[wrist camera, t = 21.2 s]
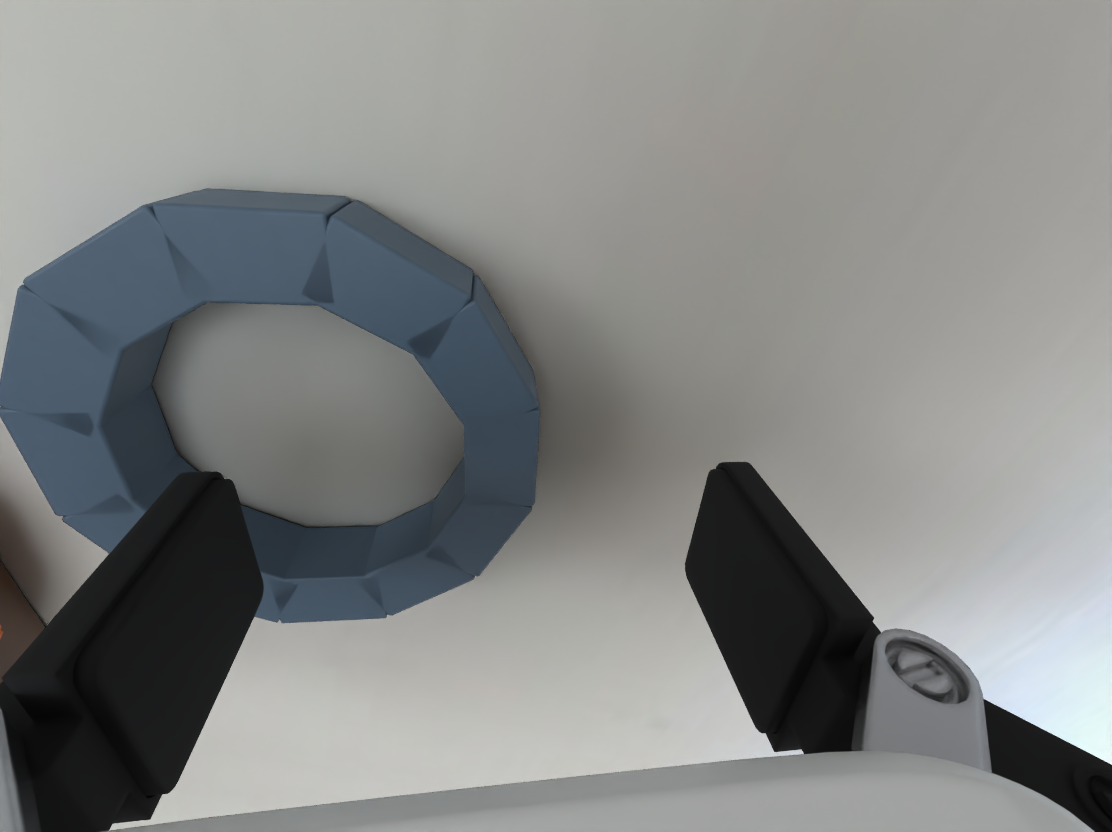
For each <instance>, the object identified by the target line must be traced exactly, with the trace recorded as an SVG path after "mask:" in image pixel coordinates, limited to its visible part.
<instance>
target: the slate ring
mask: <svg viewBox="0 0 1112 832" xmlns="http://www.w3.org/2000/svg"><path fill="white" fill-rule="evenodd" d="M23 283H24V285H21V286H20V287H19V288H18V291H17V296H16V301H15V306H14V312H13V317H12V322H11V327H10V332H9V337H8V342H7V348H6V353H5V358H4V363H3V368H2V373H1V378H0V406H1V407H0V417H1V419H2V420H3V422H4V424H5V426H6V428H7V429H8V431H9V433H10V435H11V436H12V438H13V440H14V442H15V444H16V445H17V447H18V449H19V451H20V452H21V454H22V456H23V458H24V460H25V461H26V463H27V465H28V467H29V468H30V470H31V472H32V474H33V475H34V477H35V479H36V481H37V483H38V484H39V486H40V488H41V490H42V491H43V493H44V495H45V497H46V499H47V500H48V502H49V504H50V506H51V507H52V509H53V511H54V513H55V514H56V515H58V516H63V518H62V520H63V522H65V523H66V524H68V525H69V526H70V527H72V528H73V529H75V530H76V531H78V532H79V533H81V534H82V535H83V536H85V537H86V538H88V539H89V540H91V541H92V542H94V543H95V544H97V545H98V546H99V547H101V548H102V549H104V550H105V551H107V552H108V553H111V551H112V550H113V549H114V548H115V547H116V546H117V545H118V543H119V542H120V541H121V540H122V539H123V538H124V536H125V535H126V534H127V533H128V532H129V531H130V530H131V528H132V527H133V526H134V525H135V524H136V523H137V522H138V520H139V519H140V518H141V517H142V516H143V515H144V513H145V512H146V511H147V510H148V509H149V508H150V507H151V505H152V504H153V503H154V502H155V501H156V500H157V499H158V497H159V496H160V495H161V494H162V493H163V492H164V491H165V489H166V488H167V487H168V486H169V485H170V484H171V482H172V481H173V480H174V479H175V478H176V477H177V476H178V475H179V474H180V473H184V472H198V471H197V470H195V469H194V468H193V467H192V466H191V465H190V464H189V463H187V462H186V461H185V460H184V459H183V458H182V457H180V456H179V455H178V454H177V452H176V450H175V447H174V444H173V442H172V439H171V436H170V434H169V431H168V428H167V426H166V423H165V420H164V418H163V415H162V412H161V410H160V407H159V404H158V402H157V399H156V396H155V394H154V391H153V388H152V386H151V383H152V380H153V377H154V374H155V371H156V368H157V365H158V362H159V359H160V356H161V354H162V351H163V348H164V345H165V342H166V339H167V336H168V333H169V330H170V327H171V324H172V322H174V321H176V320H177V319H179V318H181V317H183V316H184V315H186V314H188V313H190V312H191V311H193V310H195V309H197V308H198V307H200V306H202V305H204V304H205V303H207V302H212V303H246V304H280V305H314V306H320V307H322V308H323V309H325V310H327V311H329V312H331V313H333V314H335V315H337V316H339V317H341V318H343V319H345V320H347V321H349V322H351V323H353V324H355V325H357V326H359V327H360V328H362V329H364V330H366V331H368V332H370V333H372V334H374V335H376V336H378V337H380V338H382V339H384V340H386V341H388V342H390V343H392V344H394V345H396V346H397V347H399V348H401V349H403V350H405V351H407V352H409V353H411V354H413V355H414V357H415V358H416V359H417V361H418V362H419V364H420V365H421V366H422V368H423V369H424V371H425V372H426V373H427V375H428V376H429V378H430V379H431V380H432V382H433V383H434V385H435V386H436V387H437V389H438V390H439V391H440V393H441V394H442V396H443V397H444V398H445V400H446V401H447V403H448V404H449V405H450V407H451V408H452V410H453V411H454V412H455V414H456V415H457V417H458V418H459V419H460V421H461V422H462V424H463V426H464V458H463V459H462V461H461V462H460V463H459V465H458V466H457V468H456V469H455V471H454V472H453V474H452V475H451V477H450V478H449V480H448V481H447V482H446V484H445V485H444V487H443V488H442V490H441V491H440V493H439V494H438V496H437V497H436V498H435V500H434V501H432V502H429V503H427V504H425V505H423V506H421V507H419V508H417V509H415V510H412V511H410V512H408V513H406V514H404V515H402V516H400V517H398V518H395V519H393V520H391V521H389V522H387V523H385V524H383V525H381V526H367V527H328V528H305V527H302V526H299V525H297V524H294V523H291V522H288V521H285V520H282V519H279V518H276V517H274V516H271V515H268V514H265V513H262V512H259V511H256V510H253V509H251V508H248V507H245V506H242V505H241V509H242V512H243V515H244V519H245V522H246V525H247V529H248V532H249V536H250V539H251V542H252V546H253V549H254V552H255V556H256V559H257V562H258V566H259V569H260V573H261V576H262V579H263V584H264V591H263V597H262V600H261V603H260V605H259V607H258V610H257V612H256V614H255V616H254V617H258V618H262V619H265V620H269V621H273V622H278V621H279V620H281V623H297V622H317V621H337V620H357V619H378V618H386V617H387V614H388V615H394V614H396V613H399V612H401V611H403V610H405V609H408V608H410V607H412V606H414V605H417V604H419V603H421V602H423V601H426V600H428V599H430V598H433V597H435V596H437V595H439V594H442V593H444V592H446V591H448V590H451V589H453V588H455V587H458V586H460V585H462V584H464V583H467V582H469V581H471V580H473V579H474V577H475V576H479V575H480V574H481V573H482V571H483V570H484V569H485V568H486V566H487V565H488V564H489V563H490V561H491V560H492V559H493V558H494V556H495V555H496V554H497V553H498V551H499V550H500V549H501V548H502V546H503V545H504V544H505V543H506V541H507V540H508V539H509V538H510V536H511V535H512V534H513V533H514V531H515V530H516V529H517V528H518V526H519V525H520V524H521V523H522V521H523V520H524V519H525V518H526V516H527V515H528V514H529V513H530V511H531V510H532V505H534V503H535V490H536V474H537V459H538V443H539V427H540V407H539V401H538V395H537V390H536V384H535V378H534V375H533V370H532V367H531V366H530V364H529V362H528V361H527V359H526V357H525V355H524V354H523V352H522V350H521V348H520V347H519V345H518V343H517V342H516V340H515V338H514V336H513V335H512V333H511V331H510V329H509V328H508V326H507V324H506V323H505V321H504V319H503V317H502V316H501V314H500V312H499V310H498V309H497V307H496V305H495V304H494V302H493V300H492V298H491V297H490V295H489V293H488V291H487V290H486V288H485V286H484V284H483V283H482V281H481V279H480V278H479V276H477V275H474V276H473V271H472V270H471V269H470V268H468V267H467V266H465V265H464V264H462V263H460V262H459V261H457V260H455V259H454V258H452V257H450V256H449V255H447V254H445V253H444V252H442V251H441V250H439V249H437V248H436V247H434V246H432V245H431V244H429V243H427V242H426V241H424V240H422V239H421V238H419V237H418V236H416V235H414V234H413V233H411V232H409V231H408V230H406V229H404V228H403V227H401V226H399V225H398V224H396V223H395V222H393V221H391V220H390V219H388V218H386V217H385V216H383V215H381V214H380V213H378V212H376V211H375V210H373V209H371V208H370V207H368V206H367V205H365V204H363V203H362V202H360V201H358V200H354V201H353V202H351V201H350V199H349V198H348V197H346V196H329V195H312V194H294V193H277V192H259V191H242V190H225V189H203V190H200V191H193V192H190V193H186V194H182V195H179V196H175V197H171V198H168V199H164V200H160V201H157V202H153V203H150V204H146V205H143V206H141V207H139V208H138V209H136V210H135V211H133V212H131V213H130V214H128V215H126V216H125V217H123V218H122V219H120V220H118V221H117V222H115V223H114V224H112V225H110V226H109V227H107V228H105V229H104V230H102V231H101V232H99V233H97V234H96V235H94V236H93V237H91V238H89V239H88V240H86V241H84V242H83V243H81V244H80V245H78V246H76V247H75V248H73V249H72V250H70V251H68V252H67V253H65V254H63V255H62V256H60V257H59V258H57V259H55V260H54V261H52V262H51V263H49V264H47V265H46V266H44V267H43V268H41V269H39V270H38V271H36V272H34V273H33V274H31V275H30V276H28V277H26V278H25V279H24V281H23Z"/></svg>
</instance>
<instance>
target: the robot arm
mask: <svg viewBox="0 0 1112 832" xmlns="http://www.w3.org/2000/svg"><path fill="white" fill-rule="evenodd" d="M685 571H686V576H687V579H688V581H689V584H690V586H691V588H692V590H693V592H694V595H695V597H696V599H697V601H698V603H699V605H700V608H701V610H702V612H703V614H704V616H705V619H706V621H707V623H708V625H709V627H710V629H711V632H712V634H713V636H714V638H715V640H716V643H717V645H718V647H719V649H720V651H721V653H722V656H723V658H724V660H725V662H726V664H727V667H728V669H729V671H730V673H731V675H732V677H733V680H734V682H735V684H736V686H737V688H738V691H739V693H740V695H741V697H742V699H743V701H744V704H745V706H746V708H747V710H748V712H749V715H750V717H751V719H752V721H753V723H754V725H755V727H756V728H757V730H758V731H759V732H761V733H766V735H767V737H768V739H769V741H770V743H771V745H772V748H773V750H774V752H780V751H789V750H798V749H802V751H803V753H804V754H801V755H789V756H777V757H764V758H752V759H740V760H731V761H721V762H711V763H702V764H692V765H682V766H673V767H663V768H653V769H643V770H634V771H624V772H614V773H605V774H595V775H586V776H576V777H567V778H558V779H548V780H539V781H530V782H521V783H511V784H502V785H493V786H484V787H475V788H466V789H456V790H447V791H438V792H429V793H420V794H411V795H402V796H392V797H384V798H375V799H366V800H357V801H349V802H340V803H331V804H322V805H314V806H305V807H296V808H287V809H279V810H270V811H261V812H252V813H243V814H235V815H226V816H217V817H209V818H201V819H194V820H186V821H178V822H171V823H163V824H155V825H148V826H140V827H133V828H125V829H117V830H110V831H109V829H110V827H111V825H112V824H113V823H121V822H131V821H140V820H149V819H151V817H152V814H153V812H154V810H155V808H156V806H157V804H158V802H159V800H160V798H161V796H162V794H168V793H169V792H171V791H172V790H173V788H174V787H175V786H176V784H177V782H178V780H179V778H180V776H181V774H182V772H183V770H184V767H185V765H186V763H187V761H188V759H189V757H190V754H191V752H192V750H193V748H194V746H195V744H196V741H197V739H198V737H199V735H200V733H201V731H202V729H203V726H204V724H205V722H206V720H207V718H208V716H209V713H210V711H211V709H212V707H213V705H214V703H215V700H216V698H217V696H218V694H219V692H220V690H221V687H222V685H223V683H224V681H225V679H226V677H227V674H228V672H229V670H230V668H231V666H232V664H233V661H234V659H235V657H236V655H237V653H238V651H239V648H240V646H241V644H242V642H243V640H244V638H245V635H246V633H247V631H248V629H249V627H250V625H251V623H252V620H253V618H254V616H255V614H256V612H257V610H258V607H259V605H260V603H261V600H262V597H263V591H264V584H263V579H262V576H261V573H260V569H259V566H258V562H257V559H256V556H255V552H254V549H253V546H252V542H251V539H250V536H249V532H248V529H247V525H246V522H245V519H244V515H243V512H242V509H241V505H240V502H239V499H238V495H237V492H236V489H235V485H234V483H233V482H232V481H231V480H229V479H224V477H223V475H222V474H221V473H219V472H184V473H180V474H179V475H178V476H177V477H176V478H175V479H174V480H173V481H172V482H171V484H170V485H169V486H168V487H167V488H166V489H165V491H164V492H163V493H162V494H161V495H160V496H159V497H158V499H157V500H156V501H155V502H154V503H153V504H152V505H151V507H150V508H149V509H148V510H147V511H146V512H145V513H144V515H143V516H142V517H141V518H140V519H139V520H138V522H137V523H136V524H135V525H134V526H133V527H132V528H131V530H130V531H129V532H128V533H127V534H126V535H125V536H124V538H123V539H122V540H121V541H120V542H119V543H118V545H117V546H116V547H115V548H114V549H113V550H112V551H111V553H110V554H109V555H108V556H107V557H106V558H105V559H104V561H103V562H102V563H101V564H100V565H99V566H98V568H97V569H96V570H95V571H94V572H93V573H92V574H91V576H90V577H89V578H88V579H87V580H86V581H85V582H84V584H83V585H82V586H81V587H80V588H79V589H78V591H77V592H76V593H75V594H74V595H73V596H72V597H71V599H70V600H69V601H68V602H67V603H66V604H65V605H64V607H63V608H62V609H61V610H60V611H59V612H58V614H57V615H56V616H55V617H54V618H53V619H52V620H51V622H50V623H49V624H48V625H47V626H46V627H45V628H44V630H43V631H42V632H41V633H40V634H39V635H38V637H37V638H36V639H35V640H34V641H33V642H32V643H31V645H30V646H29V647H28V648H27V649H26V650H25V651H24V653H23V654H22V655H21V656H20V657H19V658H18V660H17V661H16V662H15V663H14V664H13V665H12V666H11V668H10V669H9V670H8V671H7V672H6V673H5V674H4V676H3V677H2V680H3V681H2V682H1V684H0V832H1112V765H1111V764H1109V763H1107V762H1105V761H1103V760H1101V759H1099V758H1097V757H1095V756H1093V755H1092V754H1090V753H1088V752H1086V751H1084V750H1082V749H1080V748H1078V747H1076V746H1074V745H1072V744H1070V743H1068V742H1066V741H1064V740H1062V739H1060V738H1058V737H1057V736H1055V735H1053V734H1051V733H1049V732H1047V731H1045V730H1043V729H1041V728H1039V727H1037V726H1035V725H1033V724H1031V723H1029V722H1027V721H1025V720H1023V719H1022V718H1020V717H1018V716H1016V715H1014V714H1012V713H1010V712H1008V711H1006V710H1004V709H1002V708H1000V707H998V706H996V705H994V704H992V703H990V702H988V701H987V700H985V699H983V694H982V691H981V687H980V684H979V681H978V680H977V678H976V677H975V675H974V674H973V672H972V671H971V669H970V668H969V667H968V666H967V665H966V664H965V663H964V662H963V661H962V660H961V659H960V658H959V657H958V656H957V655H956V654H955V653H953V652H952V651H951V650H949V649H948V648H947V647H945V646H944V645H942V644H941V643H939V642H937V641H935V640H933V639H931V638H929V637H928V636H926V635H923V634H920V633H917V632H914V631H911V630H904V629H890V630H885V631H883V632H882V633H881V632H880V630H879V629H878V628H877V627H876V625H875V624H874V623H873V622H872V621H873V619H874V617H873V616H872V615H871V614H870V612H869V611H868V610H867V609H866V607H865V606H864V605H863V604H862V602H861V601H860V600H859V599H858V597H857V596H856V595H855V594H854V592H853V591H852V590H851V589H850V587H849V586H848V585H847V584H846V582H845V581H844V580H843V579H842V577H841V576H840V575H839V574H838V572H837V571H836V570H835V569H834V567H833V566H832V565H831V564H830V562H829V561H828V560H827V559H826V557H825V556H824V555H823V554H822V552H821V551H820V550H819V549H818V547H817V546H816V545H815V544H814V542H813V541H812V540H811V539H810V538H809V536H808V535H807V534H806V533H805V531H804V530H803V529H802V528H801V526H800V525H799V524H798V523H797V521H796V520H795V519H794V518H793V516H792V515H791V514H790V513H789V511H788V510H787V509H786V508H785V506H784V505H783V504H782V503H781V501H780V500H779V499H778V498H777V496H776V495H775V494H774V493H773V491H772V490H771V489H770V488H769V486H768V485H767V484H766V483H765V481H764V480H763V479H762V478H761V476H760V475H759V474H758V473H757V471H756V470H755V469H754V468H753V466H752V465H751V464H749V463H748V462H721V463H719V464H718V466H717V467H716V469H712V470H711V471H710V472H709V474H708V477H707V481H706V485H705V489H704V493H703V497H702V500H701V504H700V508H699V512H698V516H697V520H696V523H695V527H694V531H693V535H692V539H691V543H690V546H689V550H688V554H687V558H686V562H685Z"/></svg>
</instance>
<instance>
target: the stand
mask: <svg viewBox="0 0 1112 832" xmlns="http://www.w3.org/2000/svg"><path fill="white" fill-rule="evenodd" d="M0 625H1V629H0V630H2V631H3V634H2V636H1V639H0V684H1V682H2V681H3V680H2V677H3V676H4V674H5V673H6V672H7V671H8V670H9V669H10V668H11V666H12V665H13V664H14V663H15V662H16V661H17V660H18V658H19V657H20V656H21V655H22V654H23V653H24V651H25V650H26V649H27V648H28V647H29V646H30V645H31V643H32V642H33V641H34V640H35V639H36V638H37V637H38V635H39V634H40V633H41V632H42V631H43V630H44V628H45V626H44V625H43V623H42V622H41V620H40V619H39V617H38V616H37V614H36V613H35V611H34V610H33V609H32V607H31V606H30V604H29V603H28V601H27V600H26V598H25V597H24V595H23V594H22V592H21V591H20V589H19V588H18V586H17V585H16V583H15V582H14V580H13V579H12V578H11V576H10V575H9V573H8V572H7V570H6V569H5V567H4V566H3V564H2V563H1V561H0Z"/></svg>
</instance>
